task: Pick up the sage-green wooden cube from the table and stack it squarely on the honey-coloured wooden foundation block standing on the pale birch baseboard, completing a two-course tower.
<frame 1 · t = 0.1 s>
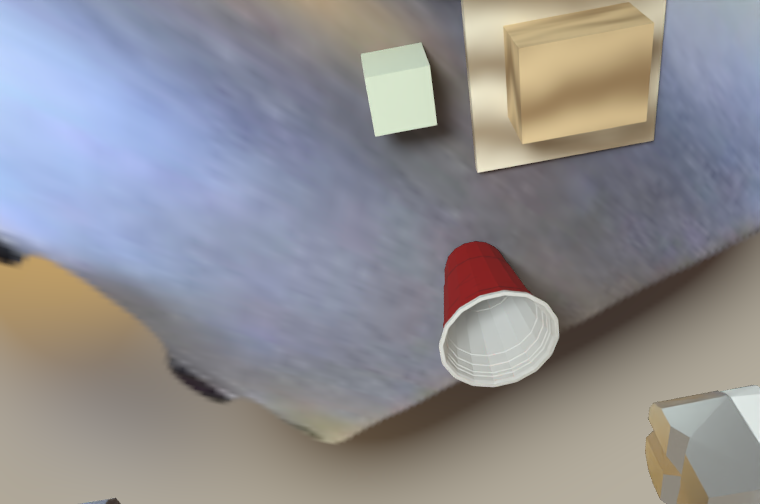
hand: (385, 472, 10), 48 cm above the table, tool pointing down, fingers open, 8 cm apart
sage cube: (395, 76, 57), on the table
foundation base: (562, 57, 57), on the table
plastic cup: (473, 260, 70), on the table
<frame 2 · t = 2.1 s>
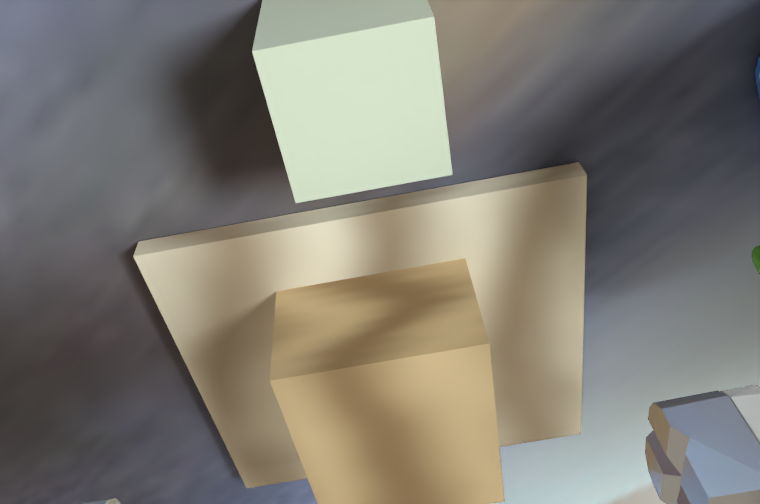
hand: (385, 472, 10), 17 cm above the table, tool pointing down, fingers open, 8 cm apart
sage cube: (352, 53, 24), on the table
foundation base: (387, 342, 32), on the table
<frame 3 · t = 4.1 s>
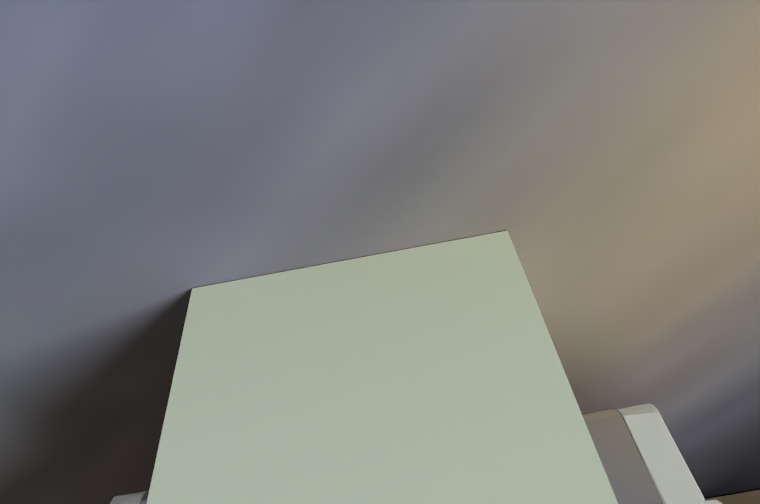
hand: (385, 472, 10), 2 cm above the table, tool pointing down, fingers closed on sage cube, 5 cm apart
sage cube: (375, 368, 12), on the table, touching gripper
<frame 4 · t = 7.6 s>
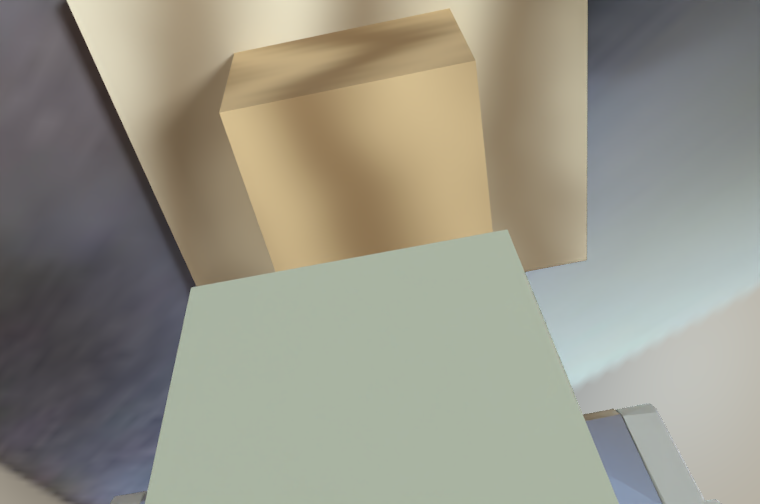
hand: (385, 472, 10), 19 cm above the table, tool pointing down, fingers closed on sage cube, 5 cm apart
sage cube: (375, 368, 12), point 17 cm above the table, touching gripper
foundation base: (365, 138, 29), on the table
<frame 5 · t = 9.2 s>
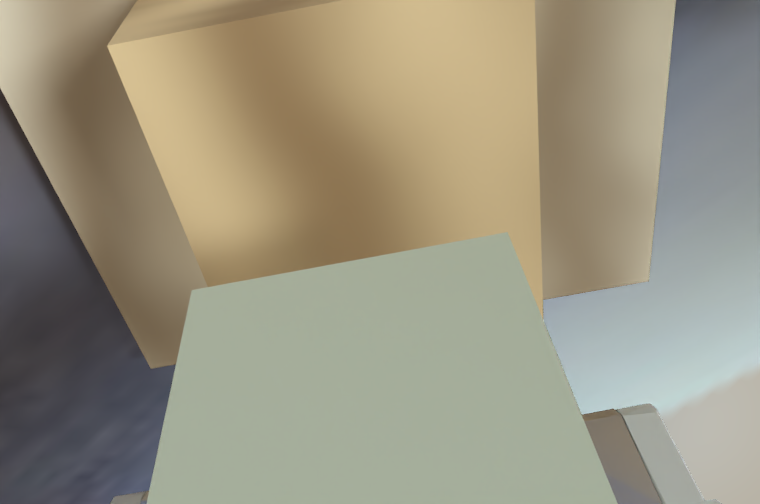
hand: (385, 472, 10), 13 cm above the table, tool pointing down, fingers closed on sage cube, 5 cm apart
sage cube: (375, 370, 12), point 10 cm above the table, touching gripper
foundation base: (353, 109, 20), on the table
when the fingers open (9 cm above the table, at t = 10.7 s): sage cube stays where it is, resting on foundation base.
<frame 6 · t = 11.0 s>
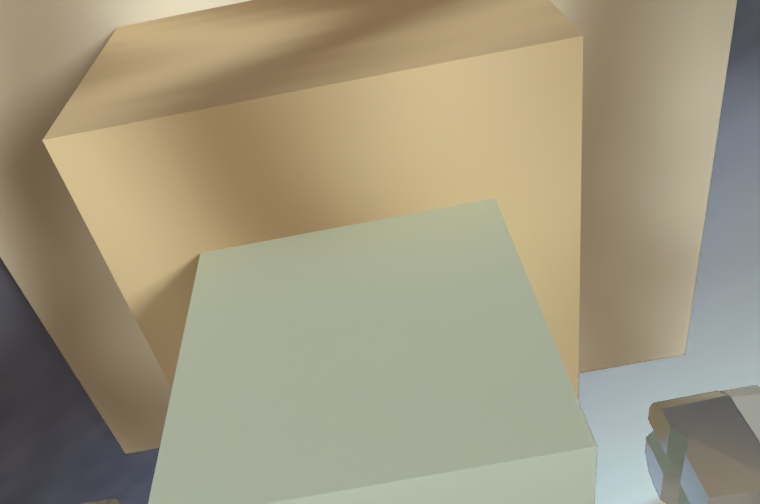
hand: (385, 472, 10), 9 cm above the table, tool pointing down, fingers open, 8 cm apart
sage cube: (372, 332, 13), point 6 cm above the table, touching foundation base
foundation base: (352, 173, 18), on the table
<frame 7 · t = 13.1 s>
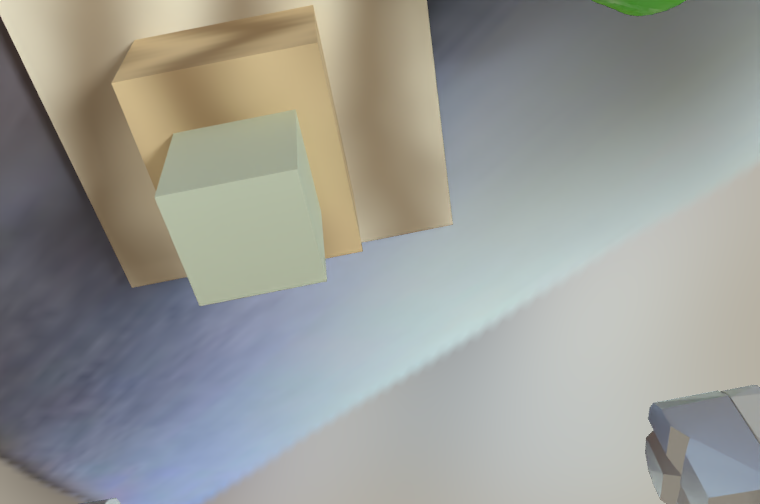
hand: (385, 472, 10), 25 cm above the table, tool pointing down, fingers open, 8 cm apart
sage cube: (251, 174, 29), point 6 cm above the table, touching foundation base
foundation base: (254, 116, 34), on the table
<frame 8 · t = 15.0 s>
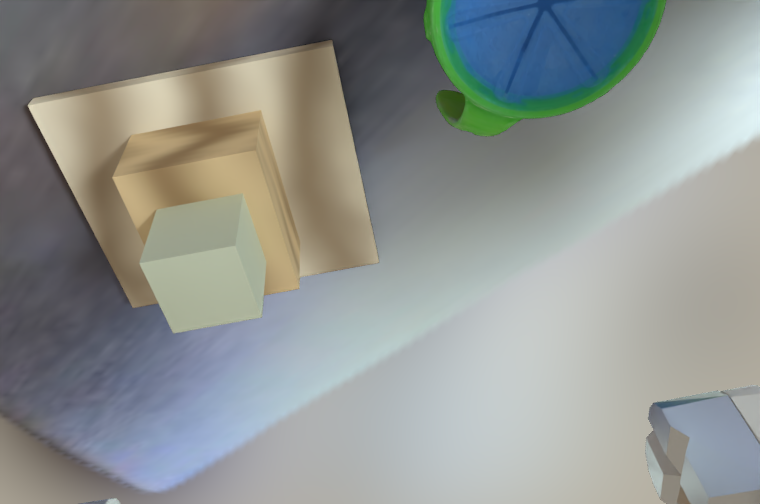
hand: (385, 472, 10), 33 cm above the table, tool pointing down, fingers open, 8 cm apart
sage cube: (213, 236, 40), point 6 cm above the table, touching foundation base
foundation base: (222, 184, 45), on the table
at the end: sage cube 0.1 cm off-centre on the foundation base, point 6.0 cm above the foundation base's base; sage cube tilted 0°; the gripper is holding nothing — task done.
